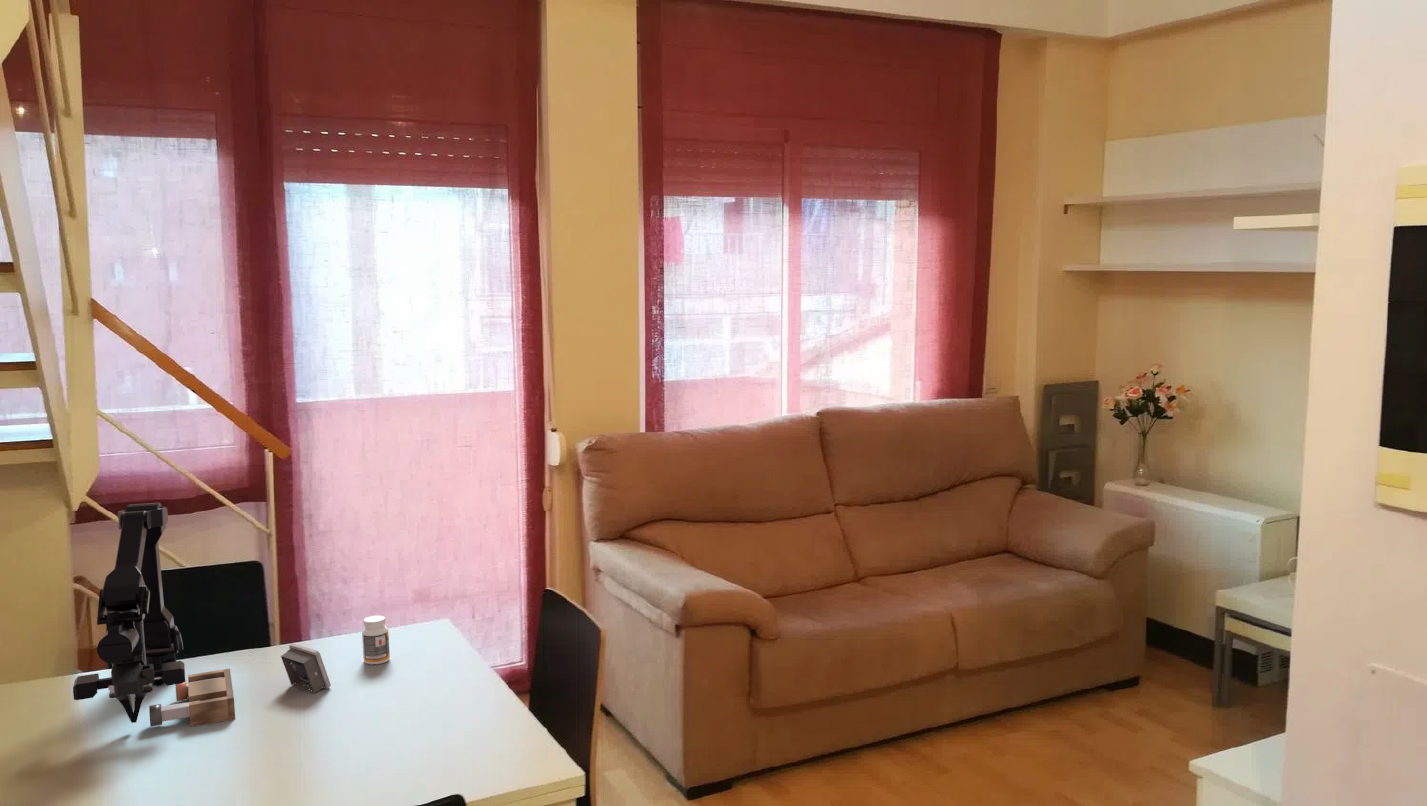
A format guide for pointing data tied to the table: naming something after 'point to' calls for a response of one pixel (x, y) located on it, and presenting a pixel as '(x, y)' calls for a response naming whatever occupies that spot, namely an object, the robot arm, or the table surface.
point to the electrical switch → (305, 668)
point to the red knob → (184, 690)
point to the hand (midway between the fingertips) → (134, 722)
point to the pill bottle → (375, 640)
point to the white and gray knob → (168, 712)
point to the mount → (211, 697)
